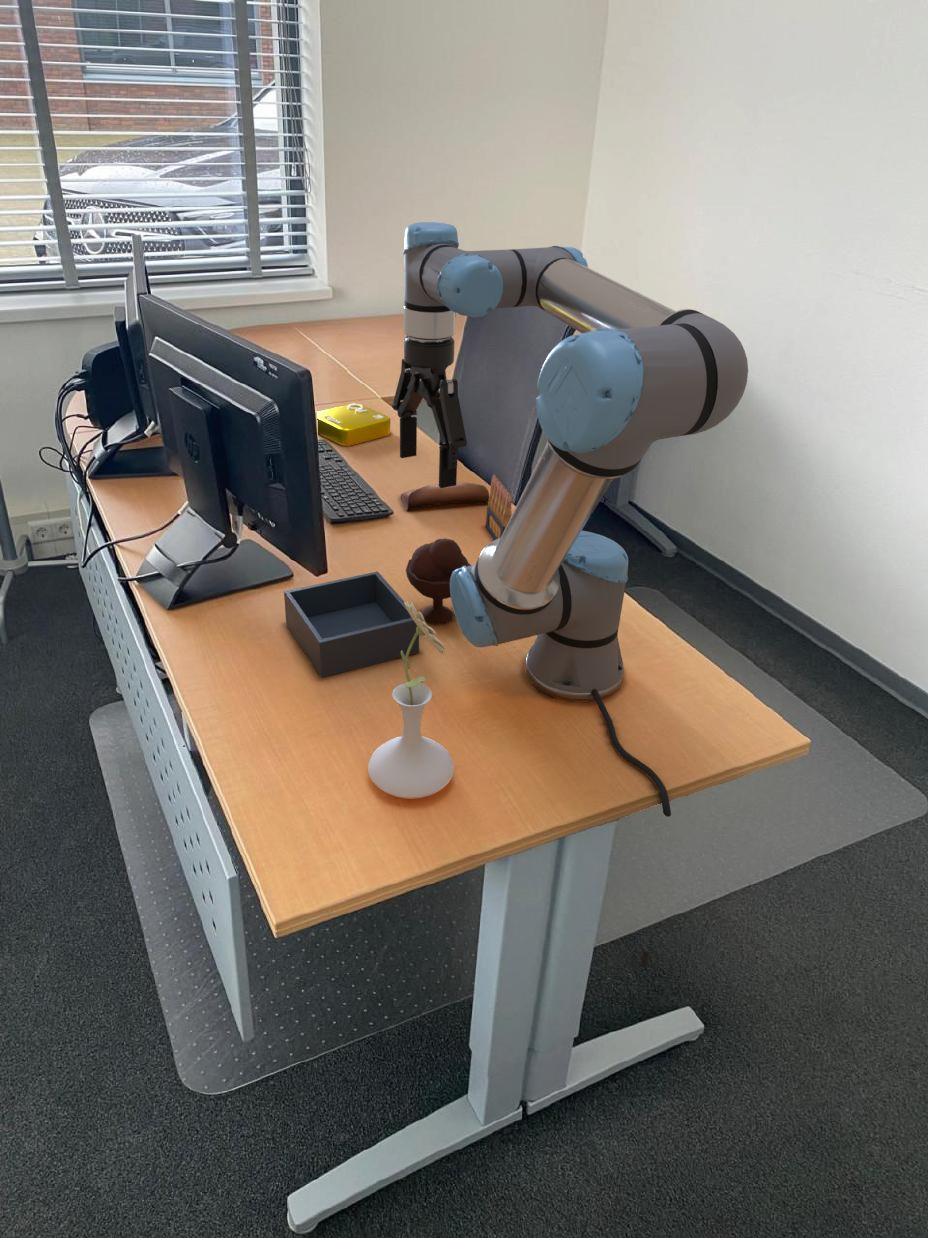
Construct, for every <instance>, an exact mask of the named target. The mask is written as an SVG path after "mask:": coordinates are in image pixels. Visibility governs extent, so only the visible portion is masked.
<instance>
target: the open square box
mask: <svg viewBox="0 0 928 1238" xmlns="http://www.w3.org/2000/svg"><path fill="white" fill-rule="evenodd" d="M283 598H284V599H283V600H284V614H285V625H286V627H287V628H288V630H289V631H290V633H291V634H292V636H293V637H294V639H295V640H296V641H297V643H298V645H299V646H300V648H301V649H302V651H303V652H304V654H305V656H306V657H307V658H308V660H309V661H310V663H311V664H312V667H313V668H314V669H315V670H316V672H317V673H318V675H319V677H320V678H327V677H330V676H334V675H338V674H341V673H345V672H349V671H354V670H357V669H361V668H365V667H368V666H372V665H376V664H380V663H384V662H389V661H392V660H396V659H400V658H402V656H401V651H403V653H404V655H405V656H406V653H407V650H408V648H409V645H410V643H411V641H412V639H413V637H414V635H415V633H416V628H417V625H416V623H415V622H414V620H413V619H412V617H411V616H410V614H409V612H408V611H407V609H406V607H405V604H404V602H405V601H404V599H403V598H402V597H401V596H400V594H398V592H396V591H395V589H394V588H393V587H392V586H391V585H390V584H389V582H388V581H387V580H386V579H385V578H384V577H383V575H382V574H381V573H379V571H373V572H367V573H364V574H359V575H353V576H349V577H345V578H340V579H335V580H331V581H326V582H321V583H317V584H311V585H307V586H302V587H297V588H293V589H288V590H284V591H283ZM419 653H420V635H418V636H417V637H416V639H415V641H414V643H413V646H412V648H411V650H410V653H409V655H408V656H410V655H415V654H419Z"/></svg>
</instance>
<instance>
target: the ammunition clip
mask: <svg viewBox="0 0 928 1238" xmlns="http://www.w3.org/2000/svg"><path fill="white" fill-rule="evenodd" d="M490 481H491V482H490V487H489V502H488V504H487V505H486V516H485V530H486V531H487V532H488V534H489V535H490V537H491V538H492V539H493V541H494V540H496V539H499V538H501V537H502V534H503V532H504V530H505V528H506V526H507V524H508V522H509V520H510V518H511V516H512V514H513V512H512V495H511V492H508V488H506V487H505V484H502V481H501V480H499V477H497V475H496V474H495V473H494V474H493V475H492V477H491V480H490Z"/></svg>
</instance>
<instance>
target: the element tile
mask: <svg viewBox="0 0 928 1238" xmlns="http://www.w3.org/2000/svg"><path fill="white" fill-rule="evenodd" d="M316 412H317V420H318V433H317V434H318V435H320V436H322V437H324V438H326V439H328V440H330V441H331V442H334V443H336V444H337V445H340V446H343V447H351V446H356V445H359V444H362V443H366V442H370V441H373V440H377V439H381V438H385V437H388V436H389V435H391V417H390V416H388V415H386V414H384V413H382V412H380V411H377V410H376V409H373V408H371V407H368V406H366V405H364V404H362V403H359V402H352V403H348V404H344V405H340V406H336V407H332V408H327V409H324V410H323V409H322V410H320V411H316Z"/></svg>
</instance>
